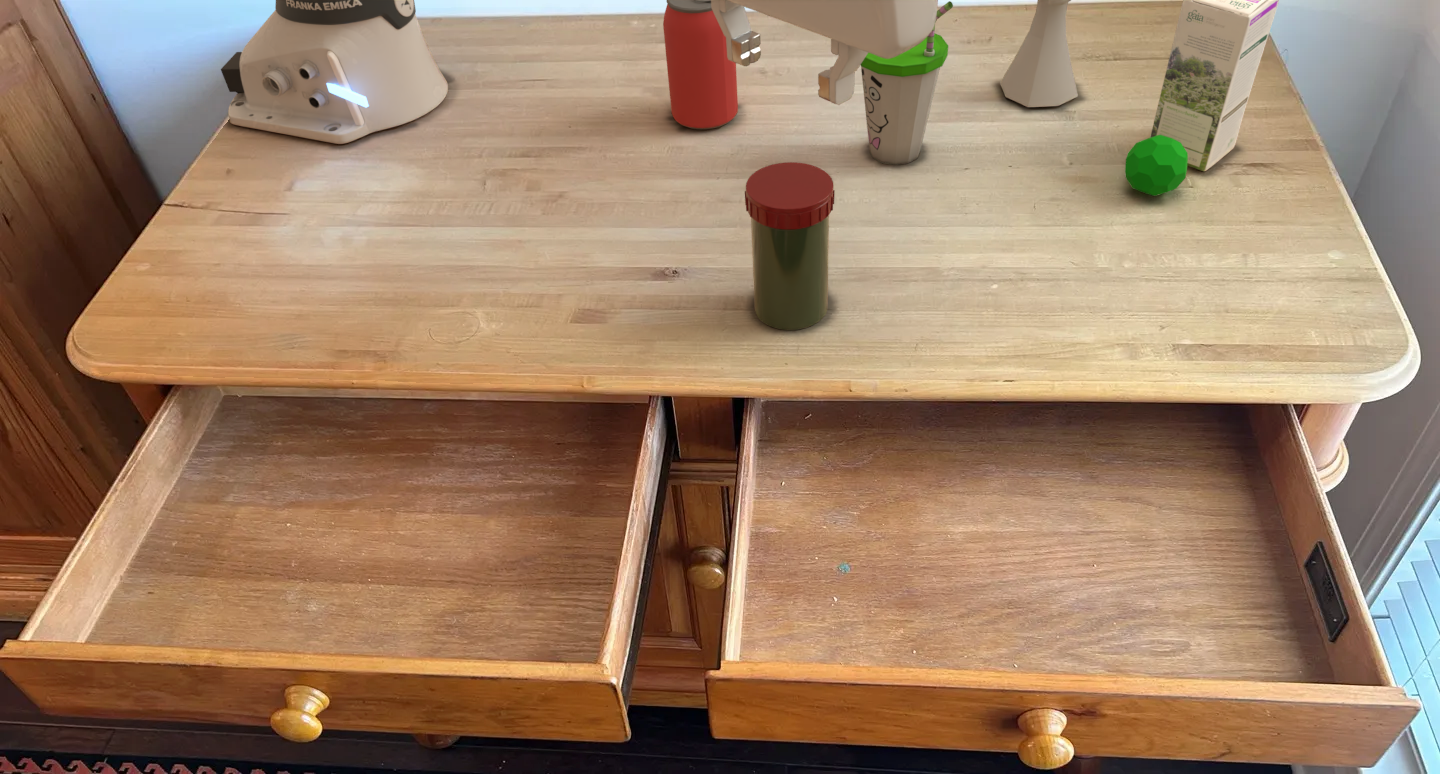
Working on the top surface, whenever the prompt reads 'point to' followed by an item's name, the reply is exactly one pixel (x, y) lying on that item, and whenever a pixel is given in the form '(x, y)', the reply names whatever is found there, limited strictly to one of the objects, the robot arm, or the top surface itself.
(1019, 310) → the top surface
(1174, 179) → the polyhedron
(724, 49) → the beer can
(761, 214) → the lid
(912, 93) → the cup
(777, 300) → the jar
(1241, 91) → the syrup box
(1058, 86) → the flask
